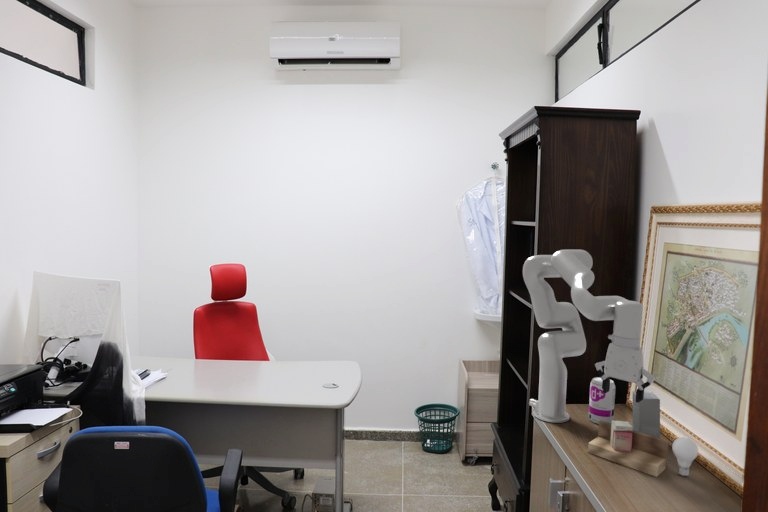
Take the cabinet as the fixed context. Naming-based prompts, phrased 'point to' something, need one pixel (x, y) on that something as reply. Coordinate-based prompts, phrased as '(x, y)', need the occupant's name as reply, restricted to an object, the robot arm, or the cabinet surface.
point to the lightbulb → (684, 454)
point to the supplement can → (601, 401)
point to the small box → (621, 436)
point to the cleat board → (632, 450)
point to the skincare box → (647, 414)
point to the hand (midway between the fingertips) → (622, 396)
